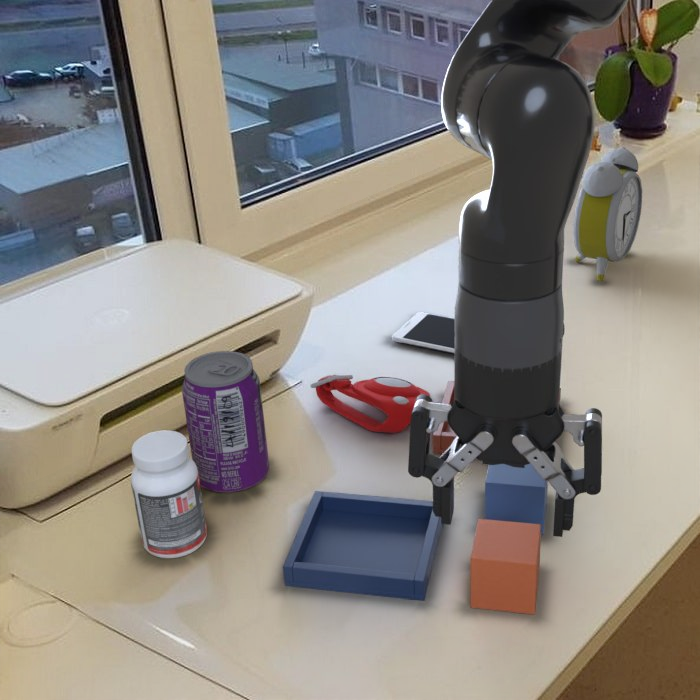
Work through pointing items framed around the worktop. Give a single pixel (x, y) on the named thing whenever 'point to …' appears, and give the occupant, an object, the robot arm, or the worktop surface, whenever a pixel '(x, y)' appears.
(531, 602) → the terracotta block
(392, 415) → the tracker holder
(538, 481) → the blue block
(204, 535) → the pill bottle
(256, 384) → the beverage can
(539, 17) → the robot arm
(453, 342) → the smartphone
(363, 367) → the worktop surface
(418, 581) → the blue tray
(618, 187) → the alarm clock
